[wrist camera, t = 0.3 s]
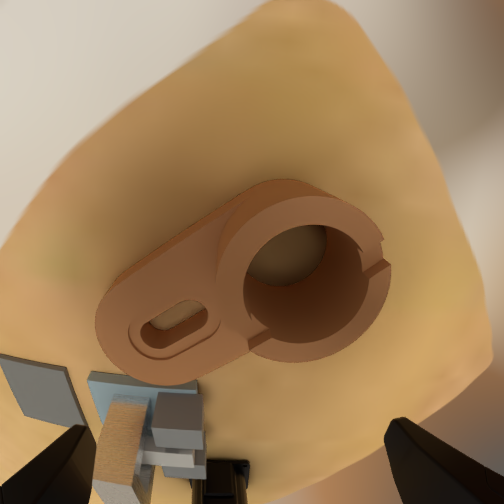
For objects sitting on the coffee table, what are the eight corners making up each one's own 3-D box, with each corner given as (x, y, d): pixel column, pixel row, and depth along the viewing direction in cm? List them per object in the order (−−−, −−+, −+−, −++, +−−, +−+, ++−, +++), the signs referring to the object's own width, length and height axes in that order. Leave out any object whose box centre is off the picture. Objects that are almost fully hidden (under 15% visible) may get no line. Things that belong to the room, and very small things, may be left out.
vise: (206, 439, 26) (206, 484, 21) (111, 430, 25) (99, 472, 20) (203, 380, 23) (201, 431, 18) (91, 371, 22) (70, 416, 17)
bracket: (305, 154, 19) (346, 159, 12) (360, 260, 21) (410, 305, 15) (86, 298, 21) (45, 353, 14) (156, 376, 23) (142, 442, 17)
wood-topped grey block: (158, 439, 24) (148, 518, 16) (127, 436, 24) (111, 512, 16) (149, 397, 22) (131, 486, 14) (114, 393, 22) (87, 477, 14)
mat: (88, 426, 25) (87, 431, 24) (26, 412, 24) (24, 415, 23) (66, 367, 22) (63, 371, 22) (0, 353, 21) (-3, 357, 21)
